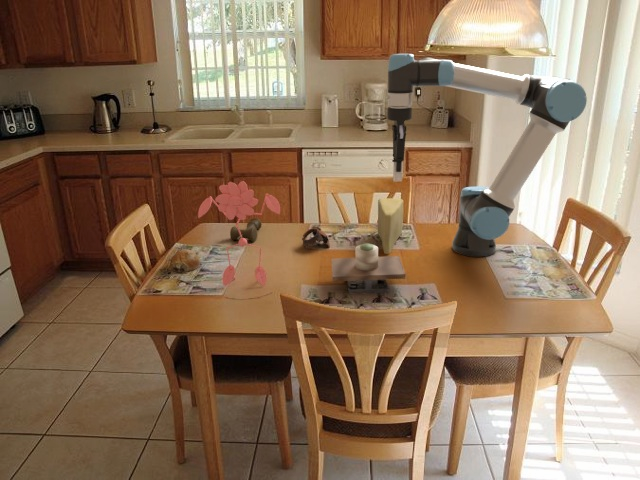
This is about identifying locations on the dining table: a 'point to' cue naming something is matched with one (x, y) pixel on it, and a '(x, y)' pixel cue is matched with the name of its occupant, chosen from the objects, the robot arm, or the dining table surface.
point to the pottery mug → (315, 237)
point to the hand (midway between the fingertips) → (397, 180)
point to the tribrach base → (368, 286)
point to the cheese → (389, 222)
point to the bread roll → (184, 261)
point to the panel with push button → (367, 266)
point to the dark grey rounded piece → (247, 231)
